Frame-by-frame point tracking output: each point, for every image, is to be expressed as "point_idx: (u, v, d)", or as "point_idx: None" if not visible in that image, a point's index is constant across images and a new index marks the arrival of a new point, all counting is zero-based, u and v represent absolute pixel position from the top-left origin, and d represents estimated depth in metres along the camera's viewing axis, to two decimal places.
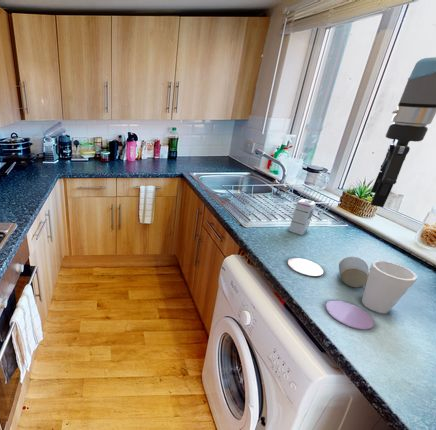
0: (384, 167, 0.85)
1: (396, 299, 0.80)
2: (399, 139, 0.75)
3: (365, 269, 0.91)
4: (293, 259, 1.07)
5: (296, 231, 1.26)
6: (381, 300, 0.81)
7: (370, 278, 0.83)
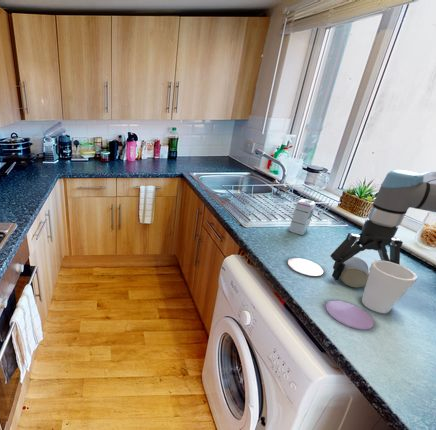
0: None
1: (396, 299, 0.80)
2: (362, 229, 0.89)
3: (365, 269, 0.91)
4: (293, 259, 1.07)
5: (296, 231, 1.26)
6: (381, 300, 0.81)
7: (370, 278, 0.83)
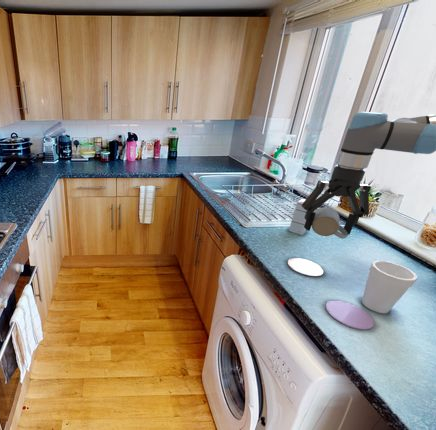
0: (352, 208, 0.91)
1: (396, 299, 0.80)
2: (331, 176, 0.89)
3: (335, 217, 0.91)
4: (293, 259, 1.07)
5: (296, 231, 1.26)
6: (381, 300, 0.81)
7: (370, 278, 0.83)
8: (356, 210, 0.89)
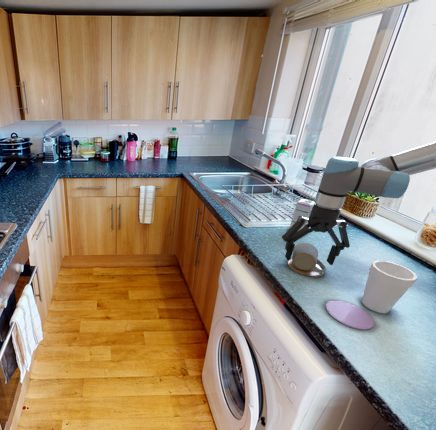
0: None
1: (396, 299, 0.80)
2: None
3: (313, 253, 0.98)
4: None
5: None
6: (381, 300, 0.81)
7: (370, 278, 0.83)
8: (337, 243, 0.96)
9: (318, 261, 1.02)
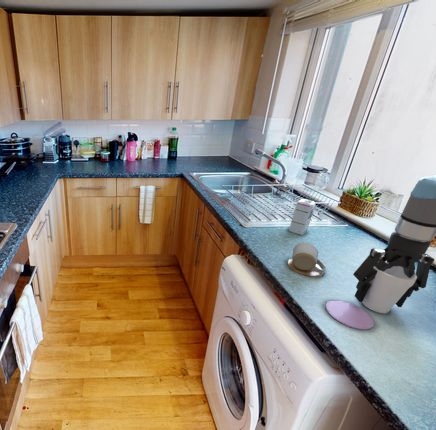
0: None
1: (396, 299, 0.80)
2: (388, 244, 0.78)
3: (313, 253, 0.98)
4: None
5: (296, 231, 1.26)
6: (381, 300, 0.81)
7: None
8: None
9: (318, 261, 1.02)
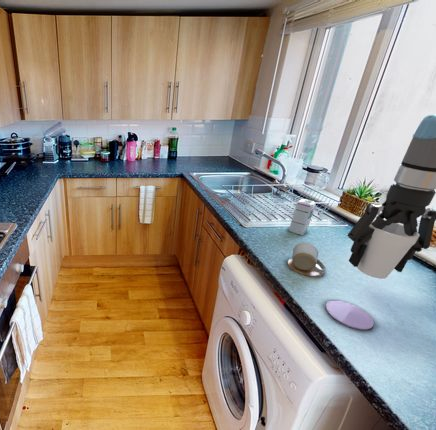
0: None
1: (395, 261, 0.70)
2: (386, 197, 0.69)
3: (313, 253, 0.98)
4: None
5: (296, 231, 1.26)
6: (378, 262, 0.71)
7: None
8: None
9: (318, 261, 1.02)
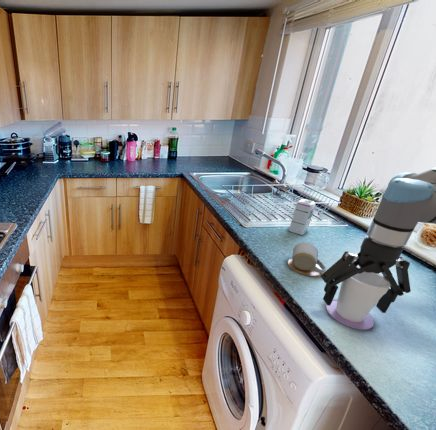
0: None
1: (369, 307, 0.76)
2: (360, 249, 0.74)
3: (313, 253, 0.98)
4: None
5: (296, 231, 1.26)
6: (354, 308, 0.77)
7: (343, 285, 0.79)
8: (394, 287, 0.75)
9: (318, 261, 1.02)
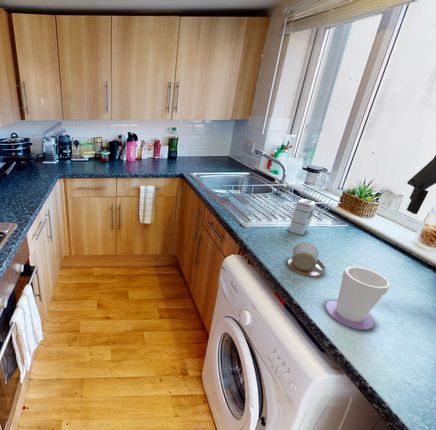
0: None
1: (369, 307, 0.76)
2: None
3: (313, 253, 0.98)
4: None
5: (296, 231, 1.26)
6: (354, 308, 0.77)
7: (343, 285, 0.79)
8: None
9: (318, 261, 1.02)
